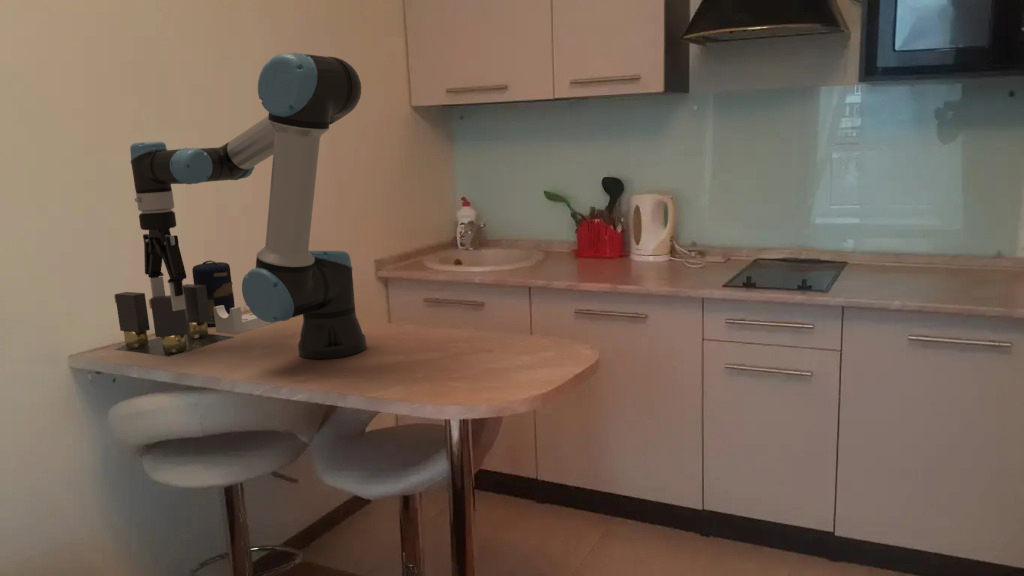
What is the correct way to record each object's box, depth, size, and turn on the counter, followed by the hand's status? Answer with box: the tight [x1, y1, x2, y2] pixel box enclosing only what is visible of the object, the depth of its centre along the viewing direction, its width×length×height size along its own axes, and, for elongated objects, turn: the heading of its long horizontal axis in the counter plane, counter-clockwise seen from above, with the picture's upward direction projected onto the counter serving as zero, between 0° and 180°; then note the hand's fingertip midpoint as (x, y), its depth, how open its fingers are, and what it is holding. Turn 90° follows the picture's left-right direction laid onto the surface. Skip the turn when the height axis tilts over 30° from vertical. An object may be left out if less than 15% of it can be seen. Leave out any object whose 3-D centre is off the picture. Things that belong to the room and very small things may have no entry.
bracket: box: [213, 305, 275, 335], centre depth 207 cm, size 13×7×8 cm, turn 150°
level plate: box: [114, 333, 235, 358], centre depth 193 cm, size 20×19×2 cm
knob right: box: [183, 283, 210, 338], centre depth 198 cm, size 7×5×13 cm
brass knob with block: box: [113, 291, 151, 348], centre depth 191 cm, size 7×5×13 cm
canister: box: [191, 260, 236, 328], centre depth 212 cm, size 10×10×18 cm
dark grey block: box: [148, 294, 190, 353], centre depth 184 cm, size 7×5×13 cm
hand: (169, 307), depth 183 cm, fingers open, 10 cm apart
